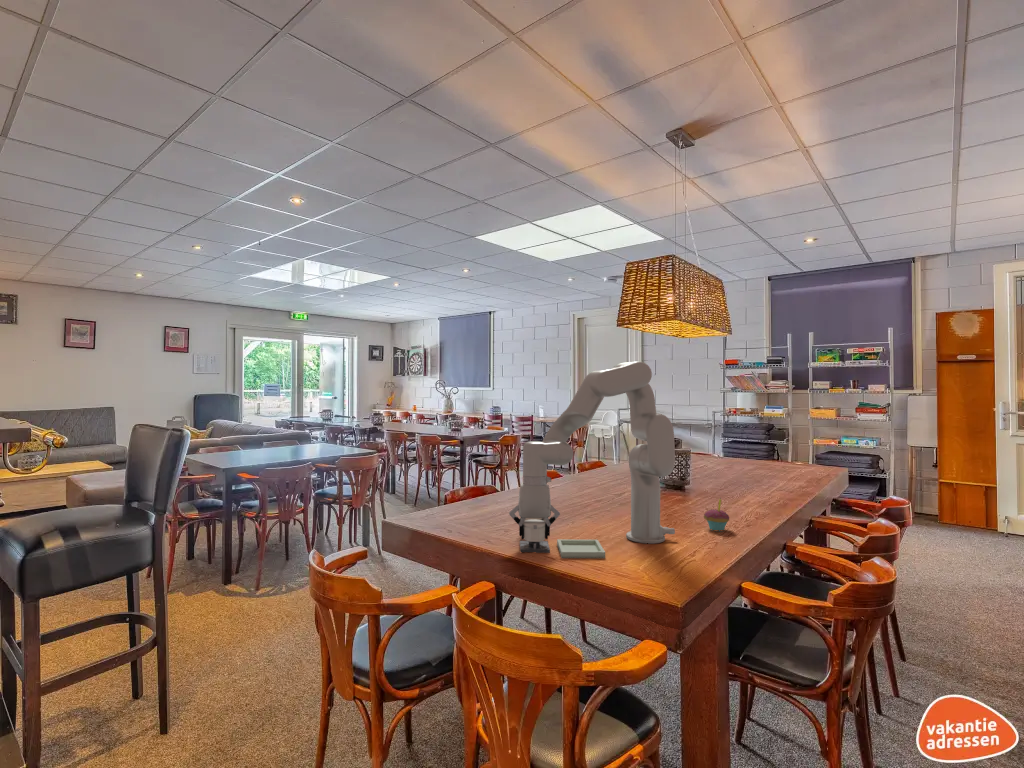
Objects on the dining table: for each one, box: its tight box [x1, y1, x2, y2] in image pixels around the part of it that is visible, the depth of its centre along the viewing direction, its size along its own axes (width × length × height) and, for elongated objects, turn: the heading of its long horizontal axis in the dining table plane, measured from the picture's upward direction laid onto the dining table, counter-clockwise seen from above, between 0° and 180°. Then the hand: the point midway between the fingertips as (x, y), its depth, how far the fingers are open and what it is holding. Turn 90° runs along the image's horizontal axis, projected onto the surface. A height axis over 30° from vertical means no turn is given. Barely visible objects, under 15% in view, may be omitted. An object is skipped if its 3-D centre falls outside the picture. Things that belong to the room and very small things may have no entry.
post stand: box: [519, 540, 551, 554], centre depth 161 cm, size 9×9×7 cm
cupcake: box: [703, 497, 730, 532], centre depth 185 cm, size 9×8×12 cm
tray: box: [556, 538, 606, 559], centre depth 158 cm, size 13×13×2 cm
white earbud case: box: [523, 519, 546, 542], centre depth 161 cm, size 7×8×5 cm
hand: (534, 537), depth 161 cm, fingers closed on white earbud case, 6 cm apart
